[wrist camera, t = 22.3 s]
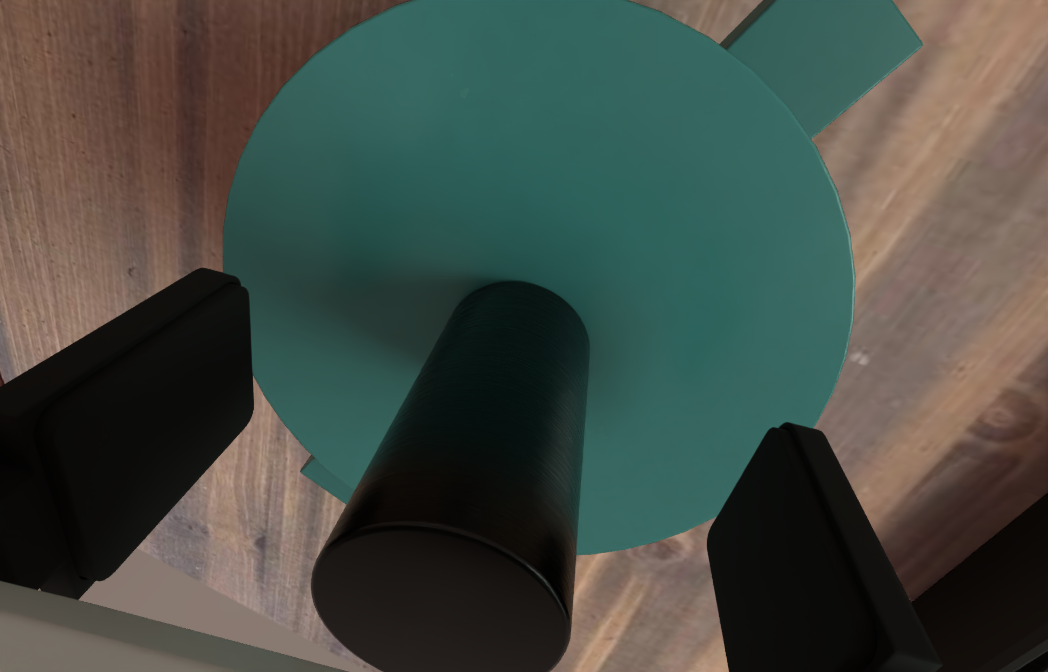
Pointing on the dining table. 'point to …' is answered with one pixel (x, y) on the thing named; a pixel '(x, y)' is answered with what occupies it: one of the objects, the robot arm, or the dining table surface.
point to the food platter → (994, 603)
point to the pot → (794, 76)
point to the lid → (527, 305)
